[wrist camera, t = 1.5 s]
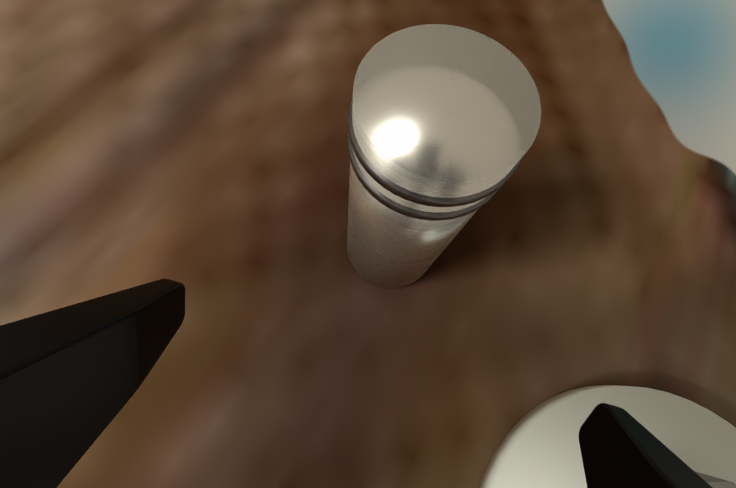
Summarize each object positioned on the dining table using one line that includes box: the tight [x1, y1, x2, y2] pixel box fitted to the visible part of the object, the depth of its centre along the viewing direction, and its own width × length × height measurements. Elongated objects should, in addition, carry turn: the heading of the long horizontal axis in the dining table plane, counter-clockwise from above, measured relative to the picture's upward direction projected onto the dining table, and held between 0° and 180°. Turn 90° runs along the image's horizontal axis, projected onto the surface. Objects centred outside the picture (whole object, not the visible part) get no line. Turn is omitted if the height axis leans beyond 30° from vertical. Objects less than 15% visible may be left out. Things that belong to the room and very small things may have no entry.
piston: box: [347, 24, 541, 289], centre depth 16 cm, size 5×5×13 cm
